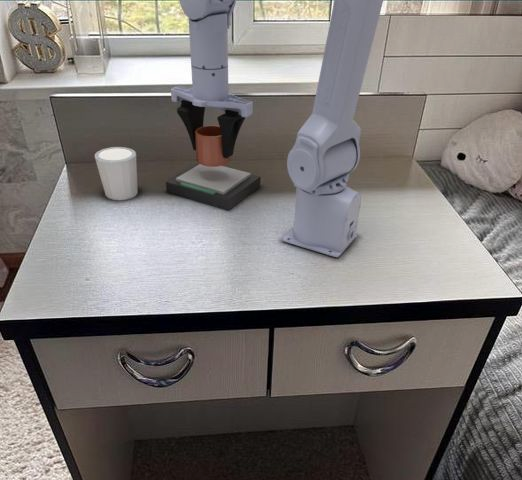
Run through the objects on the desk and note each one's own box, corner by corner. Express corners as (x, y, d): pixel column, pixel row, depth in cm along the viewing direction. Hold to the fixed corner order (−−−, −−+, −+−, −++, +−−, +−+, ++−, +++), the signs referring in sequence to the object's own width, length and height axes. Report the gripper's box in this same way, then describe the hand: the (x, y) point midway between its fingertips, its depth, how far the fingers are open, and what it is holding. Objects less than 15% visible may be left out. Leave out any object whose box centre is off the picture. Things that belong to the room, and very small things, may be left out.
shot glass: (94, 197, 91) (86, 158, 86) (114, 182, 96) (108, 143, 91) (129, 204, 89) (122, 164, 85) (148, 188, 94) (143, 149, 89)
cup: (235, 158, 92) (235, 129, 88) (217, 169, 88) (216, 139, 85) (208, 151, 94) (207, 122, 90) (190, 162, 90) (188, 132, 87)
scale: (260, 186, 96) (260, 173, 94) (228, 210, 89) (228, 196, 87) (201, 171, 100) (200, 157, 99) (166, 192, 93) (165, 178, 91)
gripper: (156, 63, 81) (164, 150, 90) (236, 78, 76) (236, 169, 85) (182, 54, 85) (188, 138, 94) (260, 67, 80) (258, 155, 89)
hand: (212, 152), depth 90 cm, fingers closed on cup, 5 cm apart
